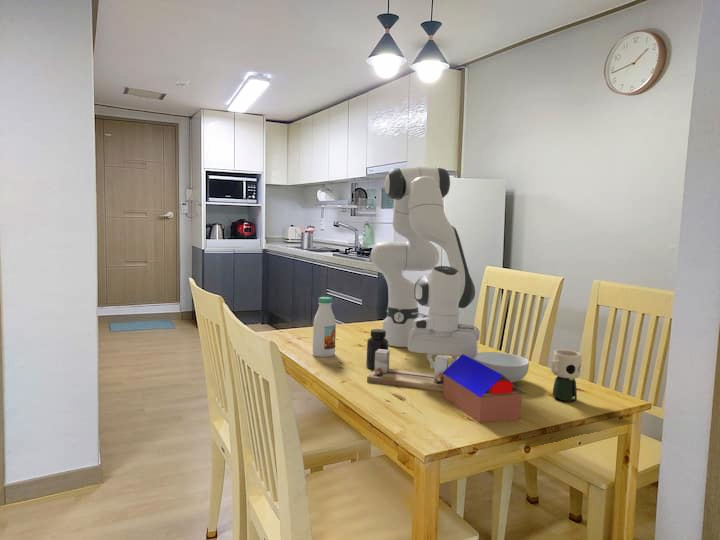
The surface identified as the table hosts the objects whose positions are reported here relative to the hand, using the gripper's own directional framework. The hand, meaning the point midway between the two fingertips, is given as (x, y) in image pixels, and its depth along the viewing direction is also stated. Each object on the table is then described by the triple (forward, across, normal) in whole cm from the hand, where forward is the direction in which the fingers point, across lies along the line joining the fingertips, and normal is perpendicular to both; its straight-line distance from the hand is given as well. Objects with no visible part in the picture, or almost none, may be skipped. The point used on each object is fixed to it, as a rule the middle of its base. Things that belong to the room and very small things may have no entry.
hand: (441, 369), depth 156 cm
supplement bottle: (+4, +22, -9) cm, 24 cm away
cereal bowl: (+5, -16, -10) cm, 20 cm away
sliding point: (+3, 0, +1) cm, 3 cm away
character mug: (+5, -34, 0) cm, 34 cm away
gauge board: (+4, +7, +1) cm, 8 cm away
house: (+5, -12, +15) cm, 20 cm away
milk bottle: (+4, +43, -16) cm, 46 cm away
